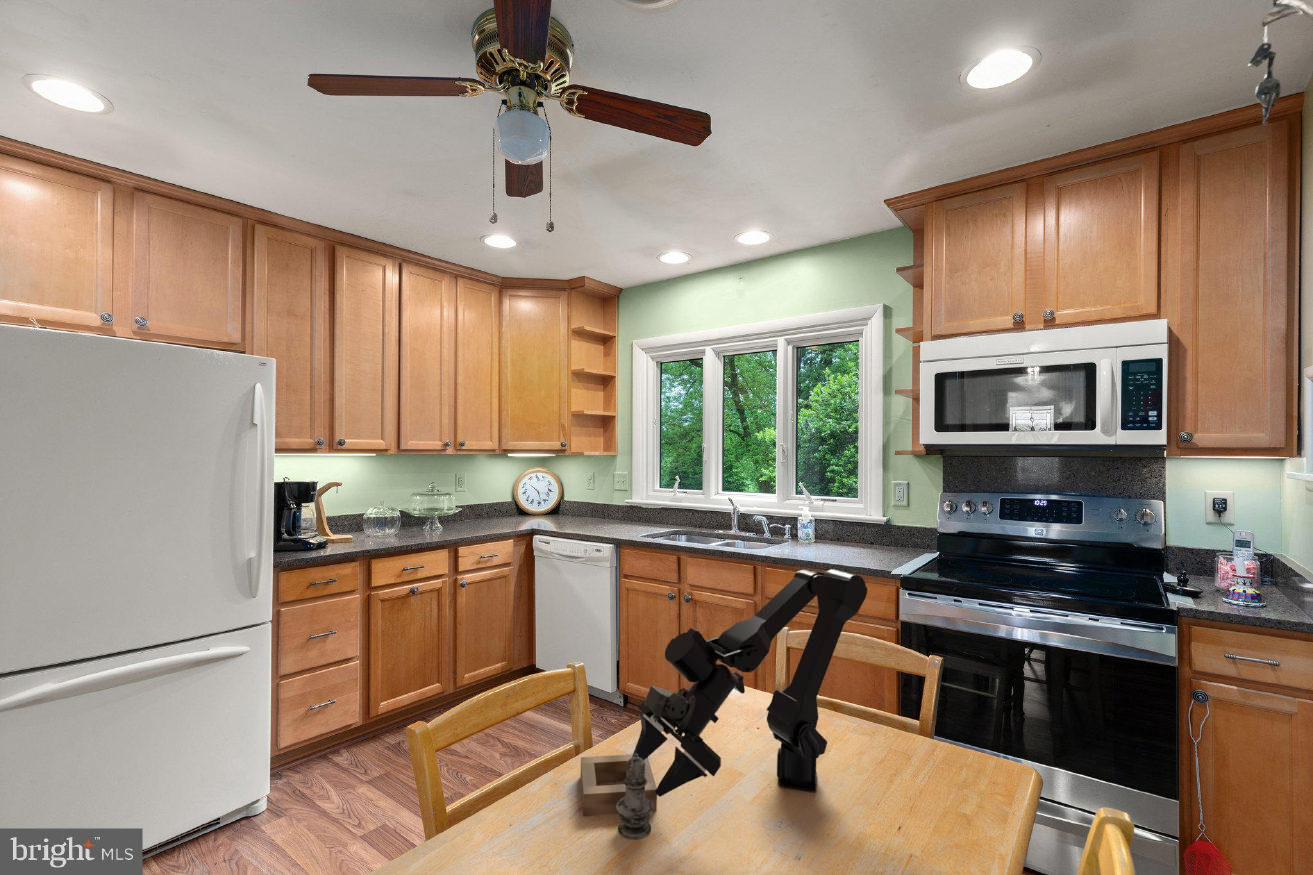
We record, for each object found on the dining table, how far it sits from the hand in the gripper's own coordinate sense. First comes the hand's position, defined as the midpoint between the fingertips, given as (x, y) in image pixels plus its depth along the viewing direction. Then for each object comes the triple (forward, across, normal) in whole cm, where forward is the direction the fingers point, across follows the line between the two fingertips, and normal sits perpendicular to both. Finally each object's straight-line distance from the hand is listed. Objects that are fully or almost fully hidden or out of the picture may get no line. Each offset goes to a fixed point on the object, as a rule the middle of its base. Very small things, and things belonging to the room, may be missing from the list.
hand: (643, 779), depth 99 cm
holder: (+5, -10, +5) cm, 13 cm away
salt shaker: (+6, 0, +4) cm, 8 cm away
